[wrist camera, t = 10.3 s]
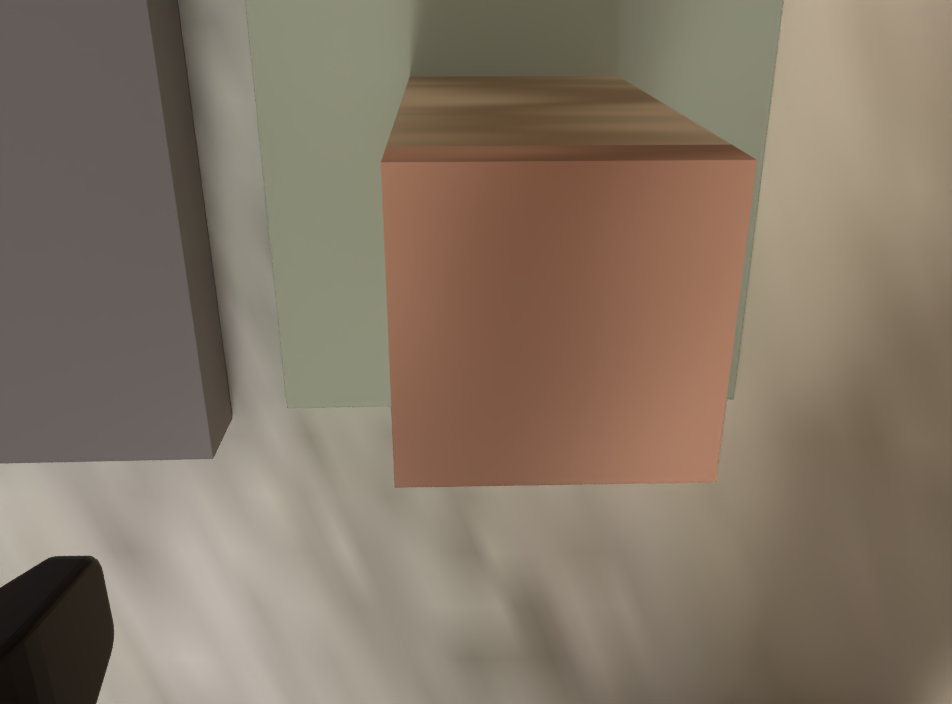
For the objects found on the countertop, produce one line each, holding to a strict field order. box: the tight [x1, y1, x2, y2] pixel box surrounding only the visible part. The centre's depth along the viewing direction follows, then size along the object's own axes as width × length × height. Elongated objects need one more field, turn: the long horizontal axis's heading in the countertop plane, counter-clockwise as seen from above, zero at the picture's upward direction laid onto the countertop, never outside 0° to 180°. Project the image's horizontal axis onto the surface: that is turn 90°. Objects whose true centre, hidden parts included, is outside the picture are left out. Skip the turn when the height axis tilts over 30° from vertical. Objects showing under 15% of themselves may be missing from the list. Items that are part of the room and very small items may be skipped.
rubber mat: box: [245, 0, 783, 408], centre depth 20 cm, size 11×11×1 cm
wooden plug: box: [381, 76, 757, 488], centre depth 15 cm, size 4×4×9 cm
